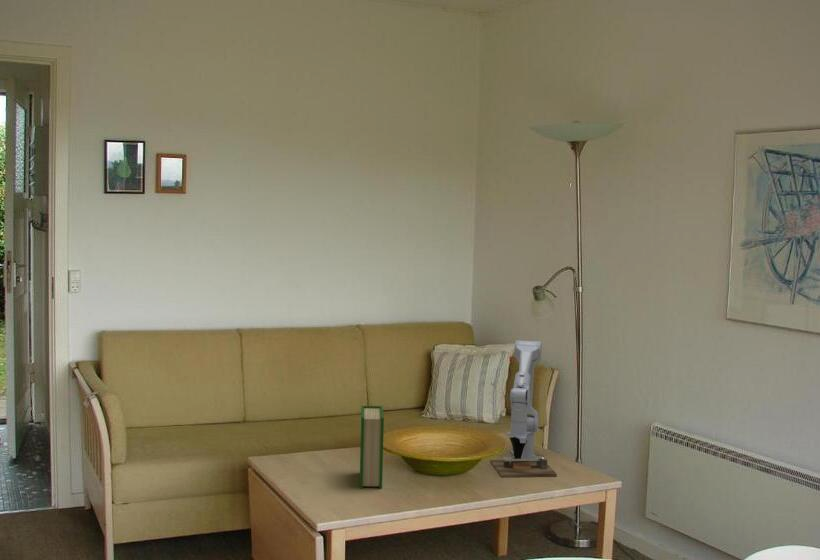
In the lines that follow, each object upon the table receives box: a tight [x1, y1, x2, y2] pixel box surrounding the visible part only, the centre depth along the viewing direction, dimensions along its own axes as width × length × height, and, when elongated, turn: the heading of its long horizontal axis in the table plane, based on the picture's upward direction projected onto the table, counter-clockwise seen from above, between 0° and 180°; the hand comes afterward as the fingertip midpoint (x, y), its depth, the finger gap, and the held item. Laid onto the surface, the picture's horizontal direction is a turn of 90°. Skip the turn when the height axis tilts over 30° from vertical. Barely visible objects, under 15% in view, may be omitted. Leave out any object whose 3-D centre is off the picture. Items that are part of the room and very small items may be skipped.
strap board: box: [489, 454, 557, 478], centre depth 324 cm, size 18×20×4 cm
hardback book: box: [359, 405, 385, 490], centre depth 306 cm, size 18×7×24 cm, turn 3°
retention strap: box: [502, 454, 545, 461], centre depth 324 cm, size 4×15×1 cm, turn 97°
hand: (517, 457), depth 324 cm, fingers closed, pressing on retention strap
